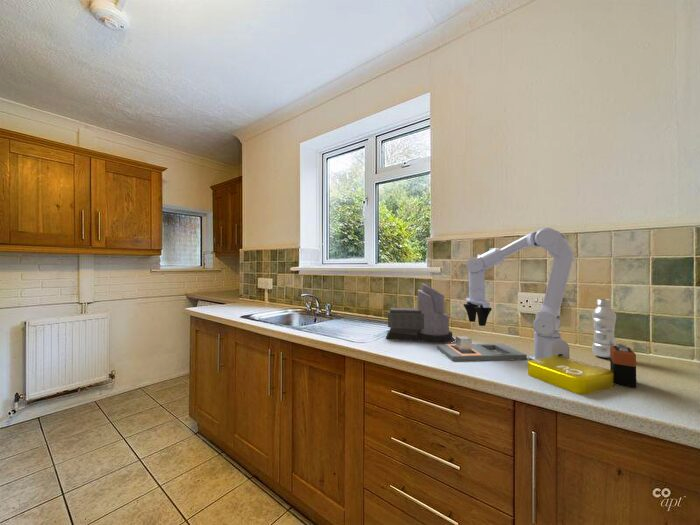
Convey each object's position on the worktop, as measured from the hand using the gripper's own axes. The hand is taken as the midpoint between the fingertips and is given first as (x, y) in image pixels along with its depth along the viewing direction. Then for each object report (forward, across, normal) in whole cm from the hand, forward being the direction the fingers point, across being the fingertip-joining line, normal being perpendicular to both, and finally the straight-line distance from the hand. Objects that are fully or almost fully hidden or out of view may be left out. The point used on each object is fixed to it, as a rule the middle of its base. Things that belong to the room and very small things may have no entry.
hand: (477, 323), depth 109 cm
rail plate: (+9, +7, -3) cm, 12 cm away
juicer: (+10, -17, -18) cm, 26 cm away
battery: (+10, +34, +23) cm, 42 cm away
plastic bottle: (+10, +14, +38) cm, 42 cm away
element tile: (+10, +31, +10) cm, 34 cm away
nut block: (+10, +7, -9) cm, 15 cm away
